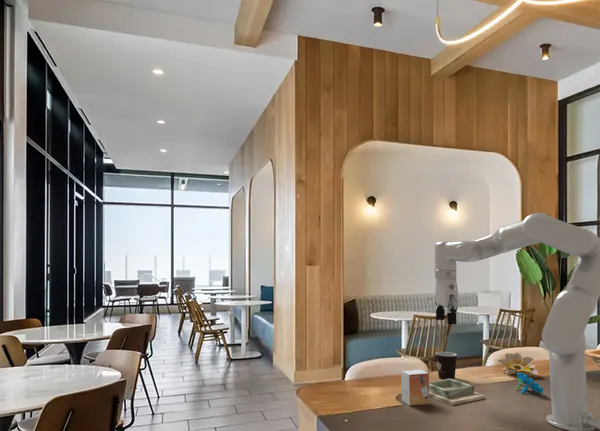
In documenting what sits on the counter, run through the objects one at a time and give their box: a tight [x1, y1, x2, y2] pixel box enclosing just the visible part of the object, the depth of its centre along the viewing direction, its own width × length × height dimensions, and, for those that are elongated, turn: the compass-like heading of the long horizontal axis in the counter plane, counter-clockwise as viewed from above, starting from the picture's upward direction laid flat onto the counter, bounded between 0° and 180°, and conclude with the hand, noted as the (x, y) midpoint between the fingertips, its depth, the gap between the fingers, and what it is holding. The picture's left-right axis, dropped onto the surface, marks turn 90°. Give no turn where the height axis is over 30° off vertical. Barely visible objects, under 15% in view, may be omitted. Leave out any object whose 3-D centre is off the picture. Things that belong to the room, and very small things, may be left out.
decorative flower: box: [497, 352, 539, 377], centre depth 188 cm, size 15×11×10 cm
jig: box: [429, 379, 485, 406], centre depth 160 cm, size 18×16×4 cm
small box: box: [400, 369, 430, 406], centre depth 152 cm, size 8×6×10 cm
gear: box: [515, 373, 544, 395], centre depth 163 cm, size 11×6×10 cm
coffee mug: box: [434, 351, 457, 380], centre depth 184 cm, size 12×9×10 cm
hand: (445, 322), depth 158 cm, fingers open, 9 cm apart
